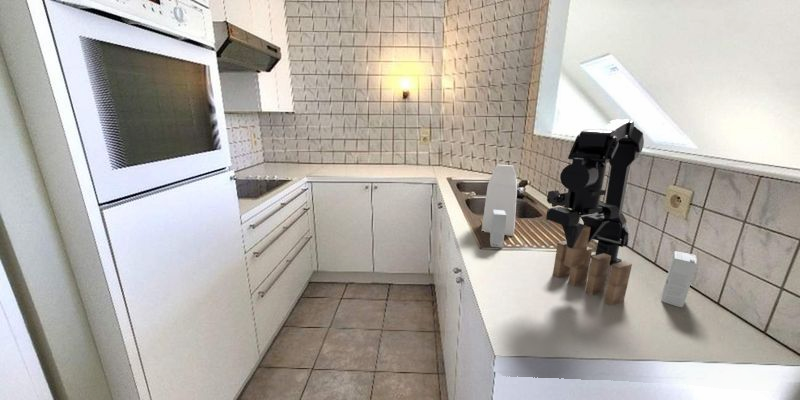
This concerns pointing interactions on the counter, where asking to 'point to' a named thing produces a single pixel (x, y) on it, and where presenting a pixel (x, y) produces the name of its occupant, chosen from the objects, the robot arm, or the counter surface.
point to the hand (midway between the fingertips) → (577, 246)
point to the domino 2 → (578, 249)
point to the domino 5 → (617, 282)
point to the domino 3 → (580, 270)
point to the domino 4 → (598, 273)
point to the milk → (501, 197)
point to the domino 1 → (561, 260)
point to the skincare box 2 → (679, 278)
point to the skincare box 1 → (497, 228)
